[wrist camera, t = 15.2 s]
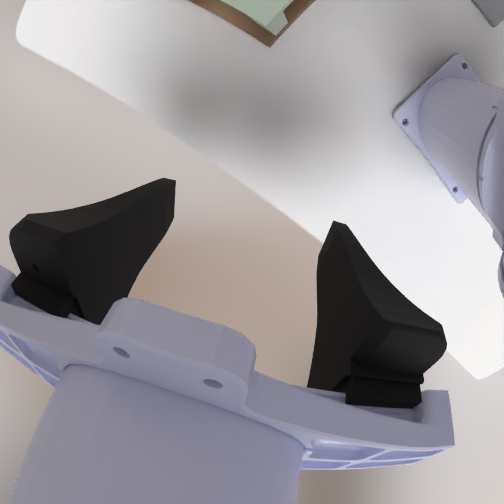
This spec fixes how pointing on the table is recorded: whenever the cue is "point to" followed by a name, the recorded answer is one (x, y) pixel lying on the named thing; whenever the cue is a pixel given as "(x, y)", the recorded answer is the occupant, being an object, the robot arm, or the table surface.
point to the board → (244, 22)
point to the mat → (491, 10)
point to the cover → (263, 12)
